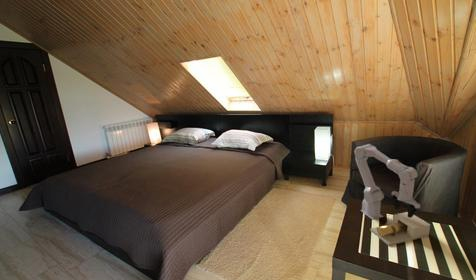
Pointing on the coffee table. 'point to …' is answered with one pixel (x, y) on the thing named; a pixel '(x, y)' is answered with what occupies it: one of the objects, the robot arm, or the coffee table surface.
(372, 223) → the coffee table surface
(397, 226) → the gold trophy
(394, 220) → the housing
